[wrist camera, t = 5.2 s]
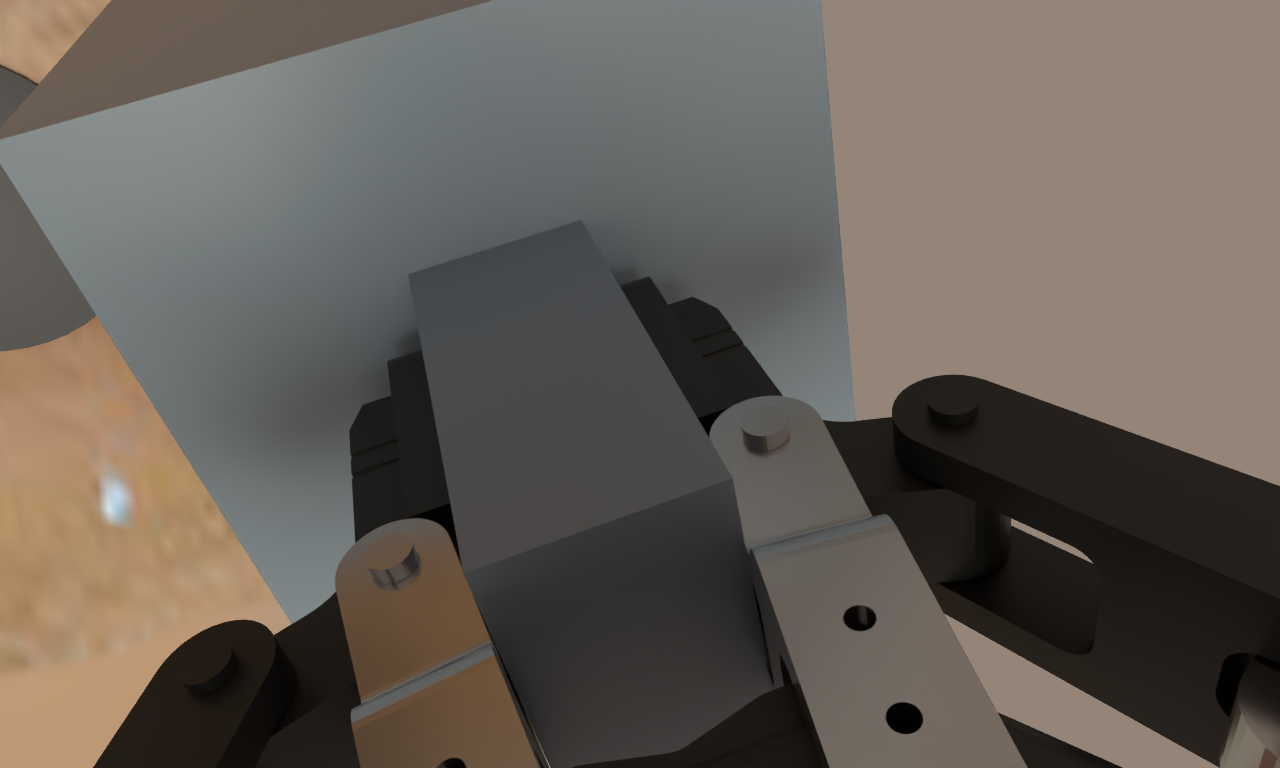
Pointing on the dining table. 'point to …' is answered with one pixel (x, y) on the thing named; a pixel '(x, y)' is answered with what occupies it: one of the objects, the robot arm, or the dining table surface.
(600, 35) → the grey block with handle
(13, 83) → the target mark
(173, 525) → the dining table surface
